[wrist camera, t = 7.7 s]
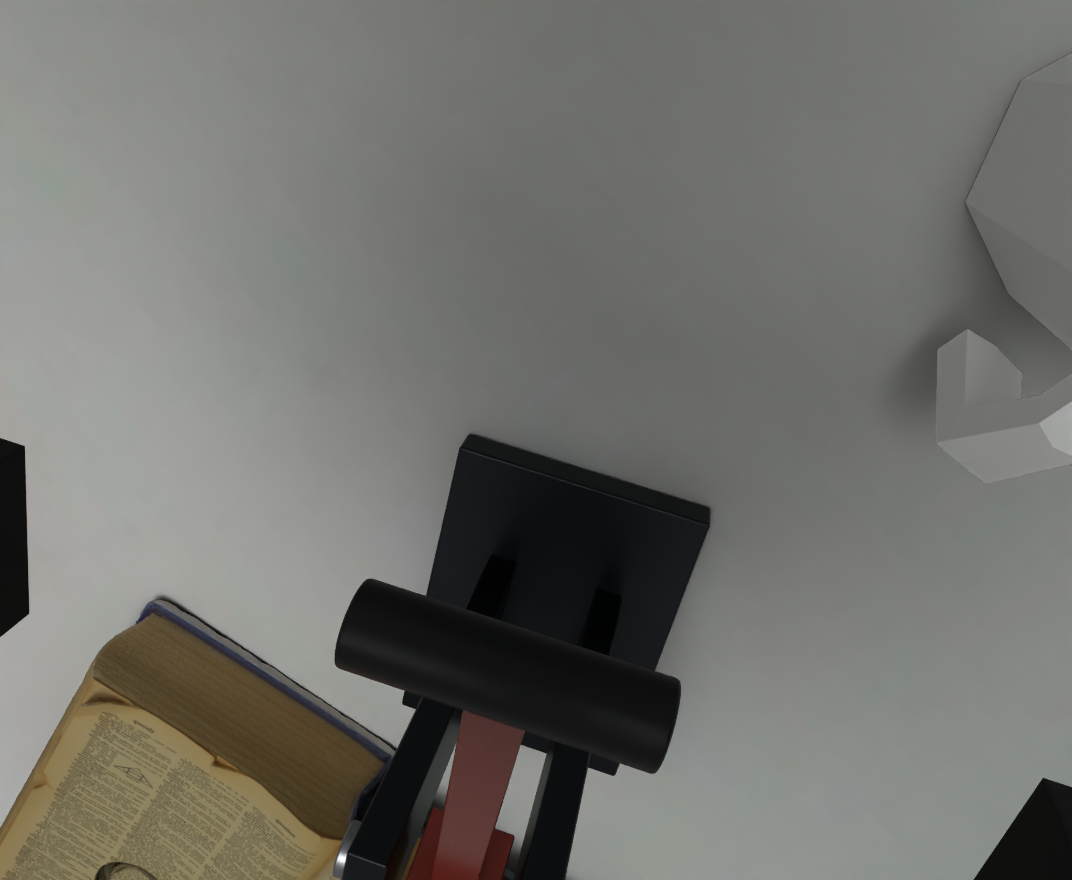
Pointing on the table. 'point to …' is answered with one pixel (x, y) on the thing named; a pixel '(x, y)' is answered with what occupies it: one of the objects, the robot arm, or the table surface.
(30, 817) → the book
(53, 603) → the table surface
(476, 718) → the lever
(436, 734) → the bracket
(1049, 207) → the mug
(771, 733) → the table surface
